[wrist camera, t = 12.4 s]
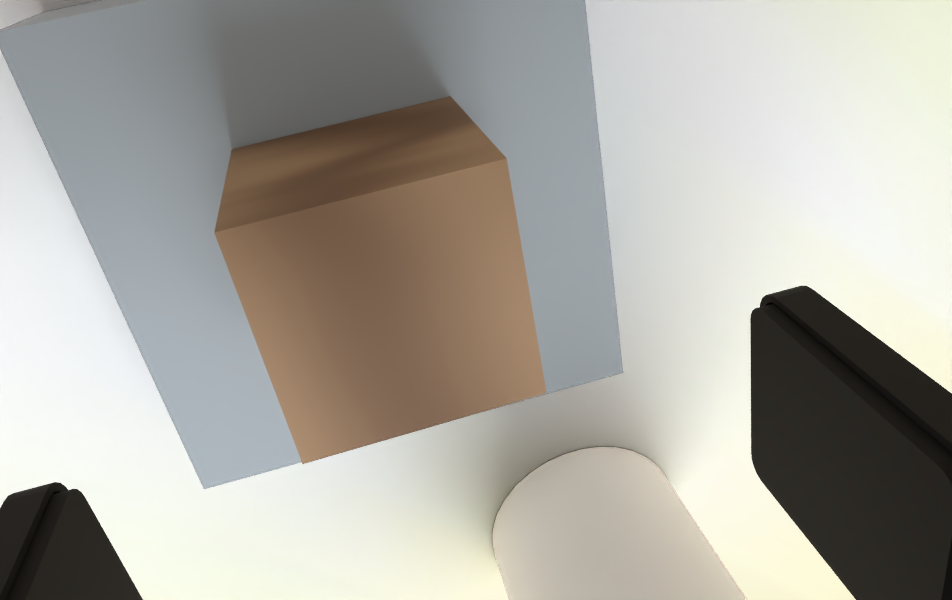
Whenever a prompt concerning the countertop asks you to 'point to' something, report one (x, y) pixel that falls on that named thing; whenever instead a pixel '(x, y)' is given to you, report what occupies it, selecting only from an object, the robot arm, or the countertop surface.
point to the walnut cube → (381, 275)
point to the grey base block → (290, 112)
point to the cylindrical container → (604, 534)
